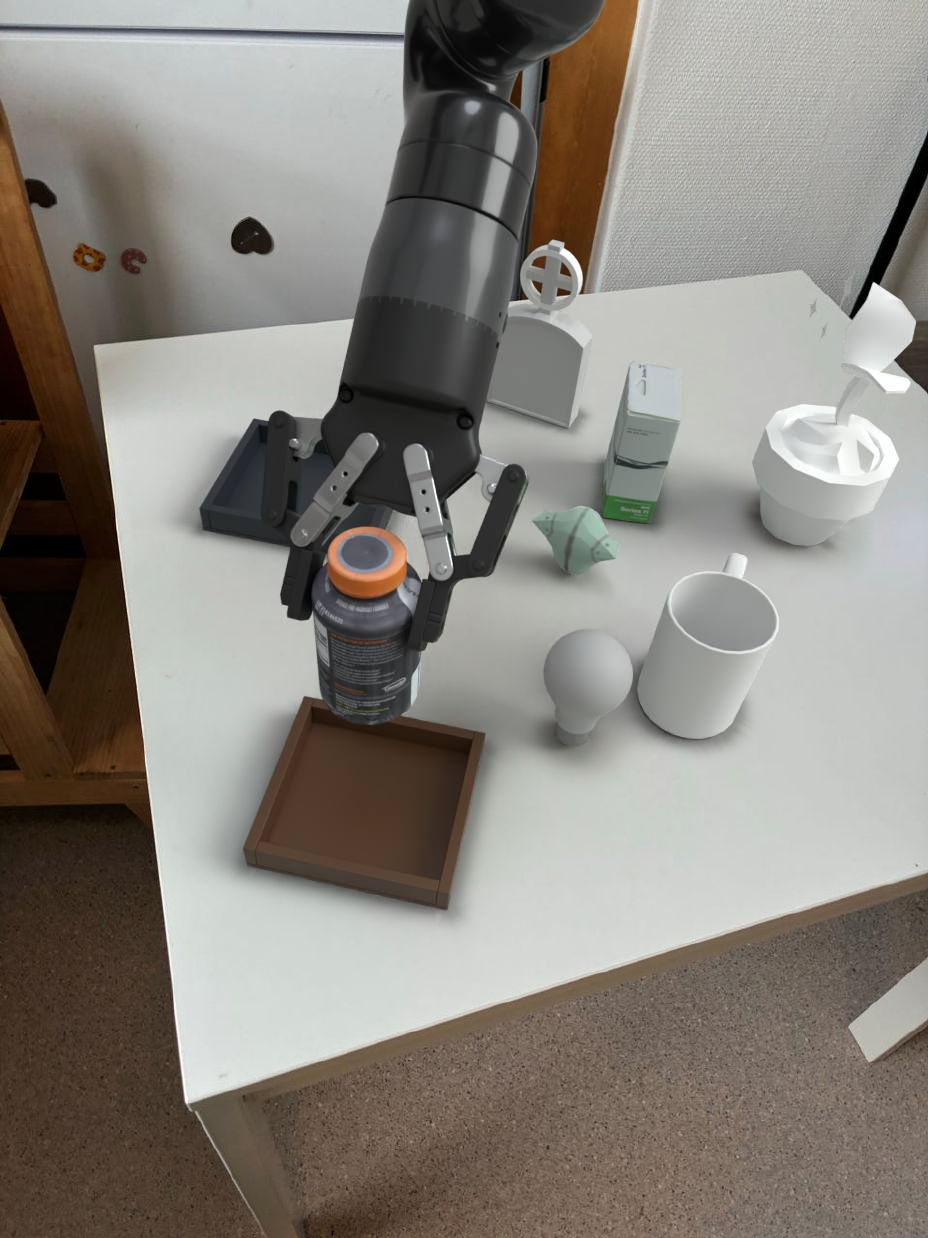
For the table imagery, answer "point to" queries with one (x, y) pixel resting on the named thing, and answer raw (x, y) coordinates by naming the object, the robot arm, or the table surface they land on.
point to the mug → (706, 651)
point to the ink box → (641, 442)
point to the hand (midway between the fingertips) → (357, 633)
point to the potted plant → (835, 435)
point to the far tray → (242, 486)
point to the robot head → (577, 538)
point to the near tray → (369, 805)
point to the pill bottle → (366, 627)
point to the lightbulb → (585, 681)
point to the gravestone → (543, 344)
